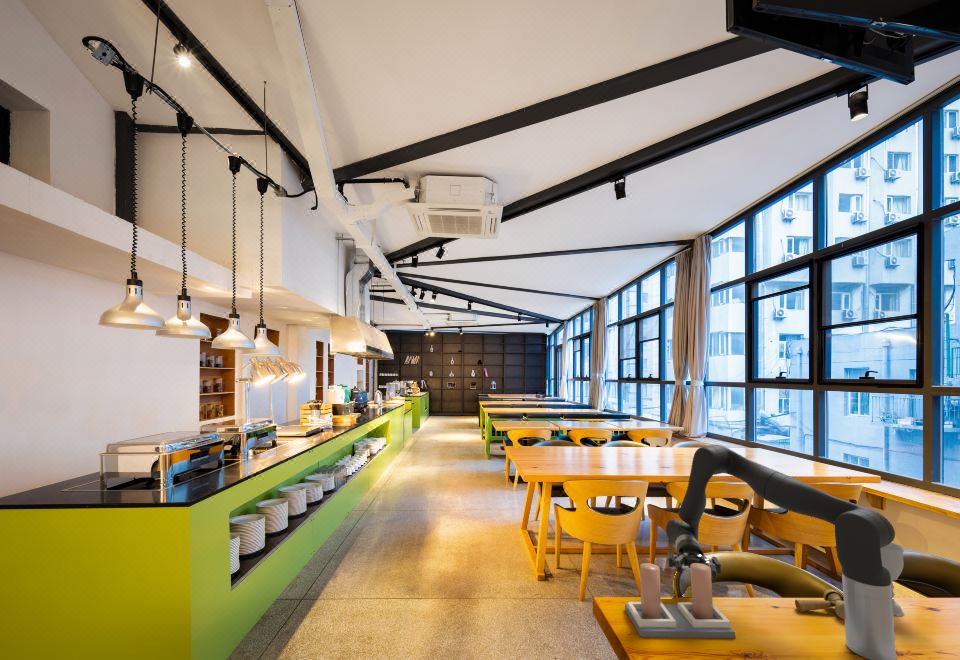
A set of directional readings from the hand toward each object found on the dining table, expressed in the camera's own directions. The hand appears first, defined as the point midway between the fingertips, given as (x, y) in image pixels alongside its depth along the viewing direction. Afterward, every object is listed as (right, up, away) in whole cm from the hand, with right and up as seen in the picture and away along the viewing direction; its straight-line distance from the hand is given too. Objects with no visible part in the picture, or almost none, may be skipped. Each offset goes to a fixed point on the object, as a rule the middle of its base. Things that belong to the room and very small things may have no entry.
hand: (697, 572), depth 129 cm
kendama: (+37, -11, -2) cm, 38 cm away
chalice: (+55, -10, -1) cm, 56 cm away
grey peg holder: (-9, -9, -8) cm, 15 cm away
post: (-2, -8, -8) cm, 11 cm away
